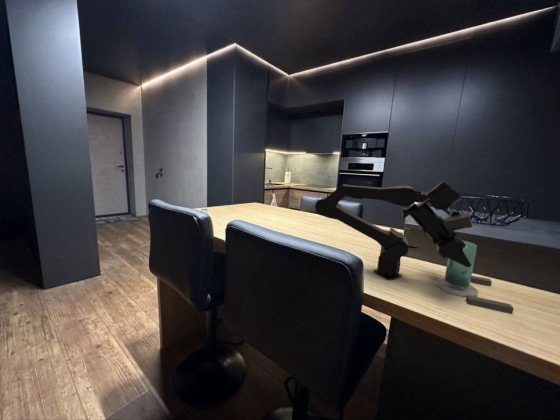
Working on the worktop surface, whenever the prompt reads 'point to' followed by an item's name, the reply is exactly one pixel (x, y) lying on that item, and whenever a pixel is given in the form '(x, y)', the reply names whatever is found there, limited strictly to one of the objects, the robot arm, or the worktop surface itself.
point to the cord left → (481, 280)
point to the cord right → (489, 304)
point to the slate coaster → (456, 289)
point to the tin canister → (461, 267)
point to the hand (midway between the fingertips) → (466, 262)
